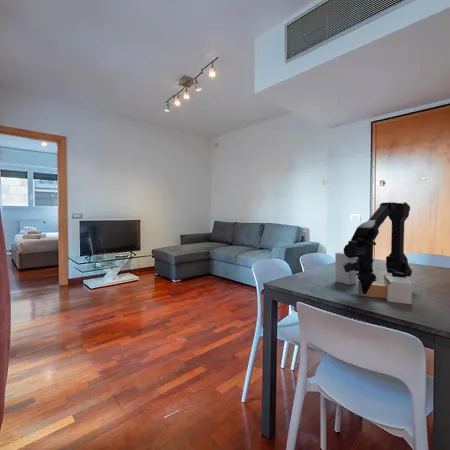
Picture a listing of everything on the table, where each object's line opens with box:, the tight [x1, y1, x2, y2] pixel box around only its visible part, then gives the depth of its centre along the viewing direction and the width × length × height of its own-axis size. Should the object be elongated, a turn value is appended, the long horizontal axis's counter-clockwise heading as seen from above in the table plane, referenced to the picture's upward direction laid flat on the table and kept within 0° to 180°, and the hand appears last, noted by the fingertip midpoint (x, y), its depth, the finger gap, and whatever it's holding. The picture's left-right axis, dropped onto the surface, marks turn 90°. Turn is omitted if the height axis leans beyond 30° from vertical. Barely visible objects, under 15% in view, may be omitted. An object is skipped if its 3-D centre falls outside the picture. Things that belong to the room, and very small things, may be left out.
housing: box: [383, 275, 413, 305], centre depth 110 cm, size 10×8×8 cm
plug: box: [357, 280, 387, 299], centre depth 113 cm, size 4×16×5 cm, turn 68°
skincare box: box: [334, 251, 358, 286], centre depth 135 cm, size 8×6×15 cm
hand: (363, 292), depth 115 cm, fingers closed on plug, 4 cm apart
